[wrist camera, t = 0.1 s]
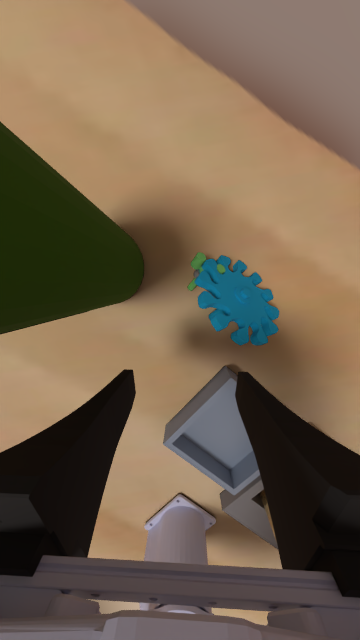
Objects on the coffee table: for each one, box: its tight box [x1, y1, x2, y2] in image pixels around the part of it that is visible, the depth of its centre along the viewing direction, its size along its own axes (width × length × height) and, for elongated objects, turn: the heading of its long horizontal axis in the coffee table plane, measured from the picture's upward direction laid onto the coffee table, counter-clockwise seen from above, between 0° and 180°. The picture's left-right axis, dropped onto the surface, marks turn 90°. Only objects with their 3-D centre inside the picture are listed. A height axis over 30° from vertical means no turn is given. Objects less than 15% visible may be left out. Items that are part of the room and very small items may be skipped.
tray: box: [163, 366, 260, 495], centre depth 23 cm, size 13×13×3 cm
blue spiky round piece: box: [188, 252, 279, 345], centre depth 19 cm, size 11×6×10 cm
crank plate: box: [220, 475, 278, 549], centre depth 25 cm, size 18×16×2 cm
